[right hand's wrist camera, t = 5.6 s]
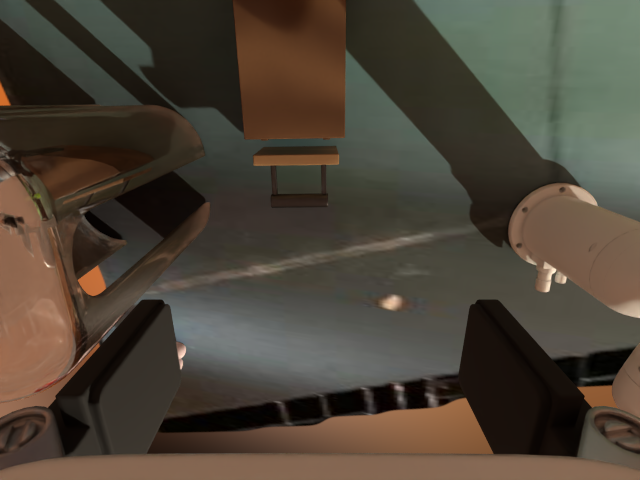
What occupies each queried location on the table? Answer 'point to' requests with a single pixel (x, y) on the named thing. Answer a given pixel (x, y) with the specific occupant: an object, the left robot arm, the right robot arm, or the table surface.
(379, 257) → the table surface
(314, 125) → the wooden box
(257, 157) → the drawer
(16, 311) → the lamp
